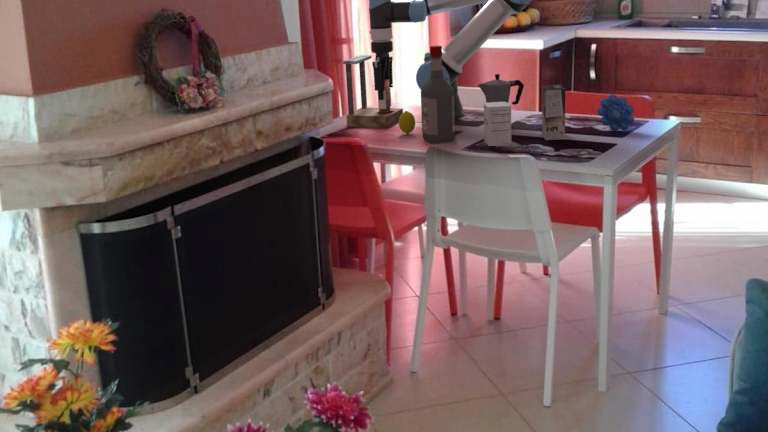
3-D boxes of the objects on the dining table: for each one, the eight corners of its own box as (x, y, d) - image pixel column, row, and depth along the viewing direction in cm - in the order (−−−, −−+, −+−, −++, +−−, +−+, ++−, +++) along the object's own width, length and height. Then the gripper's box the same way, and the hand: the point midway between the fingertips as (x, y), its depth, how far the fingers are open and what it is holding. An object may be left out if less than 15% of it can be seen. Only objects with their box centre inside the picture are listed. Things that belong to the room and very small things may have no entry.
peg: (392, 115, 317) (390, 79, 313) (388, 117, 314) (386, 81, 310) (381, 115, 319) (380, 79, 315) (377, 117, 315) (375, 80, 311)
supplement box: (483, 142, 282) (483, 102, 278) (506, 140, 282) (506, 101, 278) (488, 147, 275) (487, 106, 271) (512, 145, 275) (511, 105, 271)
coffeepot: (480, 131, 297) (479, 77, 291) (476, 125, 306) (475, 73, 300) (526, 128, 297) (526, 74, 292) (521, 122, 306) (521, 70, 301)
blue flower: (595, 133, 285) (596, 96, 281) (597, 129, 291) (598, 92, 287) (633, 134, 281) (634, 96, 278) (634, 129, 287) (635, 92, 284)
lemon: (417, 132, 299) (416, 109, 297) (412, 136, 294) (411, 112, 292) (402, 132, 301) (401, 109, 298) (397, 136, 296) (395, 112, 294)
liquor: (432, 144, 282) (429, 49, 273) (420, 139, 290) (416, 46, 281) (458, 140, 285) (455, 46, 276) (444, 135, 293) (442, 43, 284)
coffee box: (565, 139, 279) (566, 88, 274) (545, 140, 279) (545, 89, 275) (560, 133, 288) (561, 83, 283) (541, 134, 288) (541, 84, 283)
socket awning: (403, 119, 321) (400, 55, 314) (389, 127, 309) (385, 61, 302) (362, 118, 327) (358, 55, 320) (347, 126, 315) (342, 61, 308)
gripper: (380, 37, 317) (383, 102, 324) (362, 43, 302) (365, 111, 309) (400, 37, 314) (403, 103, 321) (382, 43, 299) (386, 112, 306)
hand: (384, 107), depth 315 cm, fingers closed on peg, 4 cm apart
